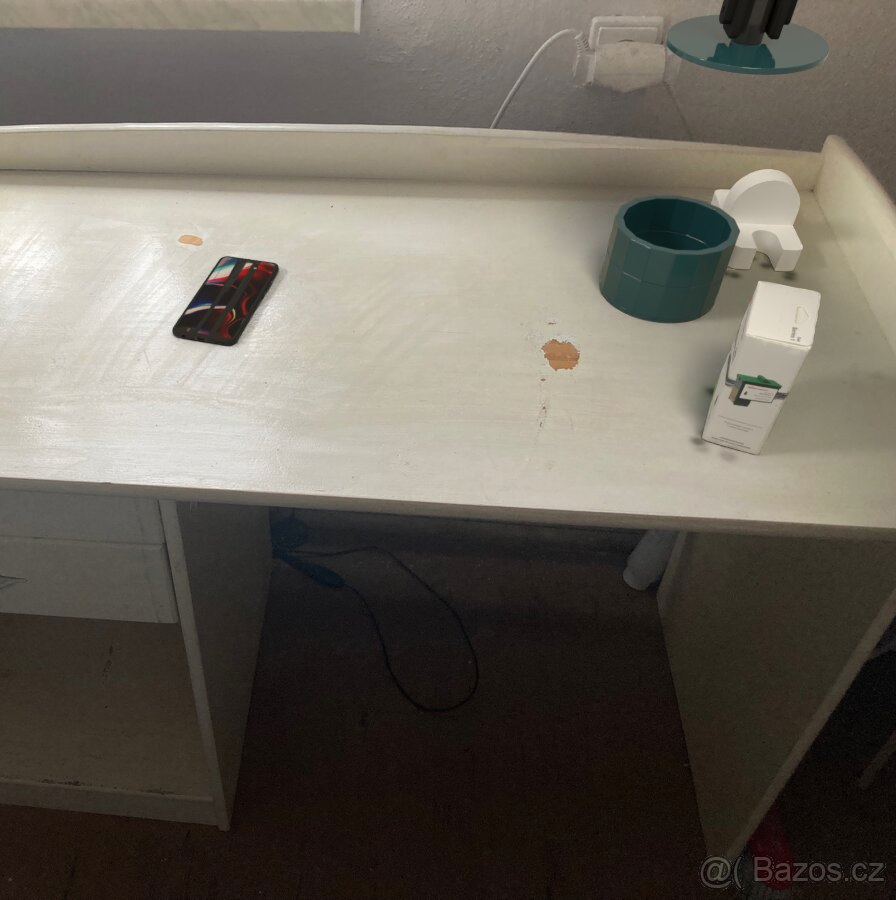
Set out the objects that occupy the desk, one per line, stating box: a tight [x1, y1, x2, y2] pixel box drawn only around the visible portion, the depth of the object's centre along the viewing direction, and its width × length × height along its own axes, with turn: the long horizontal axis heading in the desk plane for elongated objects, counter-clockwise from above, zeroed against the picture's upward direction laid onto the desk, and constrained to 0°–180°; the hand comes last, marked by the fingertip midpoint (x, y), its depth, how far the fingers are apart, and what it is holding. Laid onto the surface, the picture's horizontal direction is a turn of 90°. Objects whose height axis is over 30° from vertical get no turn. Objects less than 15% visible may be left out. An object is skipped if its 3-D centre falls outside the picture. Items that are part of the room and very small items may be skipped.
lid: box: [664, 0, 831, 76], centre depth 70 cm, size 13×13×6 cm
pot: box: [599, 194, 740, 324], centre depth 89 cm, size 12×12×8 cm
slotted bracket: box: [710, 168, 804, 272], centre depth 95 cm, size 13×7×8 cm, turn 171°
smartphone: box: [171, 255, 280, 346], centre depth 93 cm, size 7×1×15 cm
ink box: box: [701, 280, 822, 455], centre depth 73 cm, size 9×5×12 cm, turn 153°
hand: (750, 31), depth 71 cm, fingers closed on lid, 2 cm apart
